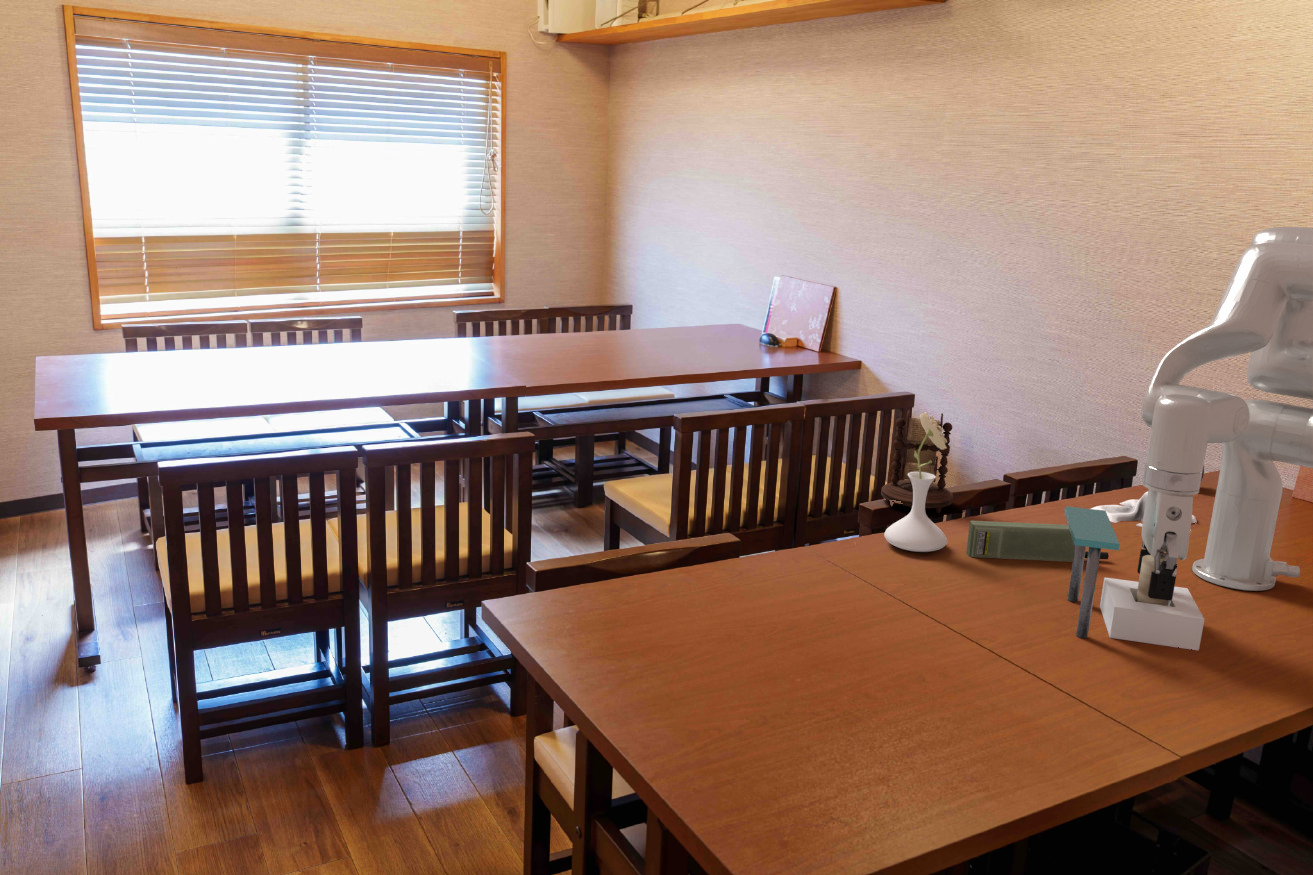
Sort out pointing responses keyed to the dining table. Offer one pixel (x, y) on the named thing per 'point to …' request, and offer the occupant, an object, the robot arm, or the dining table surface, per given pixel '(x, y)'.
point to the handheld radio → (1022, 541)
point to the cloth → (1128, 510)
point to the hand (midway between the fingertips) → (1153, 586)
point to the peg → (1147, 581)
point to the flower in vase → (920, 504)
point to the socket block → (1151, 616)
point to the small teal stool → (1095, 534)
